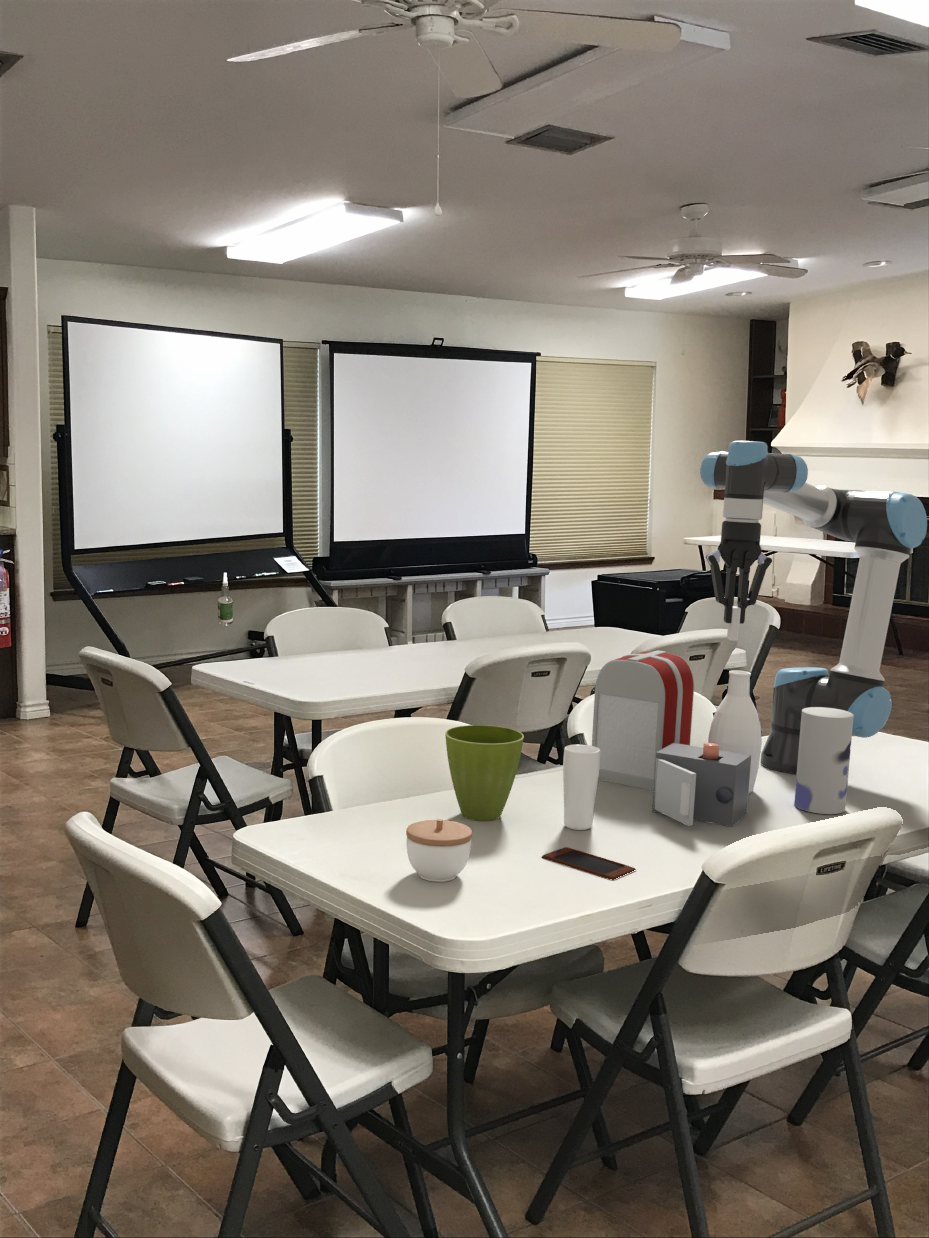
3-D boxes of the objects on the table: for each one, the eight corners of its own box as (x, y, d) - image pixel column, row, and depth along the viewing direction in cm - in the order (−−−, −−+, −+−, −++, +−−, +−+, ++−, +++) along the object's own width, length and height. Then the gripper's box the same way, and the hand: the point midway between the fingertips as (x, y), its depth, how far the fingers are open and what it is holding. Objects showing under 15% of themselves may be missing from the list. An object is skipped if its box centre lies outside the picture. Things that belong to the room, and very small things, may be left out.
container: (847, 817, 237) (856, 718, 234) (795, 812, 239) (803, 714, 236) (842, 803, 246) (850, 708, 244) (792, 798, 248) (800, 704, 246)
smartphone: (565, 845, 210) (637, 867, 200) (565, 850, 210) (636, 872, 200) (540, 854, 205) (613, 877, 195) (540, 859, 205) (612, 882, 195)
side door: (656, 807, 234) (659, 758, 233) (692, 825, 224) (696, 773, 222) (648, 808, 233) (652, 758, 232) (684, 826, 223) (688, 774, 221)
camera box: (669, 800, 243) (673, 742, 242) (746, 814, 236) (751, 755, 234) (650, 812, 234) (654, 753, 232) (730, 828, 226) (734, 766, 225)
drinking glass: (599, 824, 225) (604, 746, 223) (591, 834, 219) (596, 754, 217) (564, 819, 227) (569, 742, 225) (555, 829, 221) (560, 750, 219)
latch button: (705, 754, 233) (706, 742, 233) (720, 757, 232) (721, 744, 231) (700, 757, 230) (701, 745, 230) (715, 760, 229) (716, 747, 229)
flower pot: (505, 832, 218) (509, 747, 216) (430, 820, 223) (433, 737, 221) (529, 810, 232) (533, 730, 230) (458, 800, 237) (461, 721, 235)
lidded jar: (403, 863, 199) (405, 809, 198) (467, 864, 200) (469, 810, 199) (405, 886, 188) (408, 829, 187) (473, 887, 189) (475, 830, 188)
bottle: (700, 792, 250) (708, 673, 247) (709, 779, 261) (718, 665, 257) (753, 799, 246) (763, 679, 243) (761, 786, 257) (770, 670, 253)
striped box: (690, 774, 264) (698, 654, 261) (658, 791, 250) (666, 664, 246) (622, 761, 273) (629, 645, 270) (587, 777, 258) (594, 654, 255)
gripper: (768, 521, 237) (759, 638, 240) (704, 518, 236) (695, 635, 239) (780, 523, 230) (770, 643, 233) (714, 520, 229) (705, 641, 232)
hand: (732, 639), depth 236 cm, fingers closed
